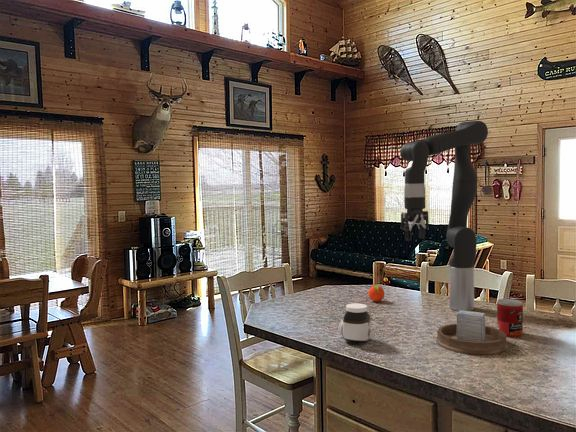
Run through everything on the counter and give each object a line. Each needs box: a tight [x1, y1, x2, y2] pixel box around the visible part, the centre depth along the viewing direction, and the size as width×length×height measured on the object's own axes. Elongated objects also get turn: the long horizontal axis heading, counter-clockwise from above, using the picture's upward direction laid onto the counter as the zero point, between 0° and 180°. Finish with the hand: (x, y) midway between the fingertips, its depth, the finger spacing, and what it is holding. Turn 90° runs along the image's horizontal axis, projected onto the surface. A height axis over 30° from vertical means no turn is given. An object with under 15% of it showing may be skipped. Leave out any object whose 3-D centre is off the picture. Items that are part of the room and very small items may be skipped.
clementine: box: [367, 284, 385, 303], centre depth 208 cm, size 8×7×7 cm
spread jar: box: [337, 303, 372, 345], centre depth 158 cm, size 12×11×12 cm
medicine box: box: [456, 310, 486, 342], centre depth 151 cm, size 8×4×9 cm, turn 58°
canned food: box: [496, 298, 524, 338], centre depth 159 cm, size 8×8×11 cm
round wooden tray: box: [436, 323, 509, 356], centre depth 151 cm, size 21×21×4 cm
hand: (415, 239), depth 178 cm, fingers open, 8 cm apart
